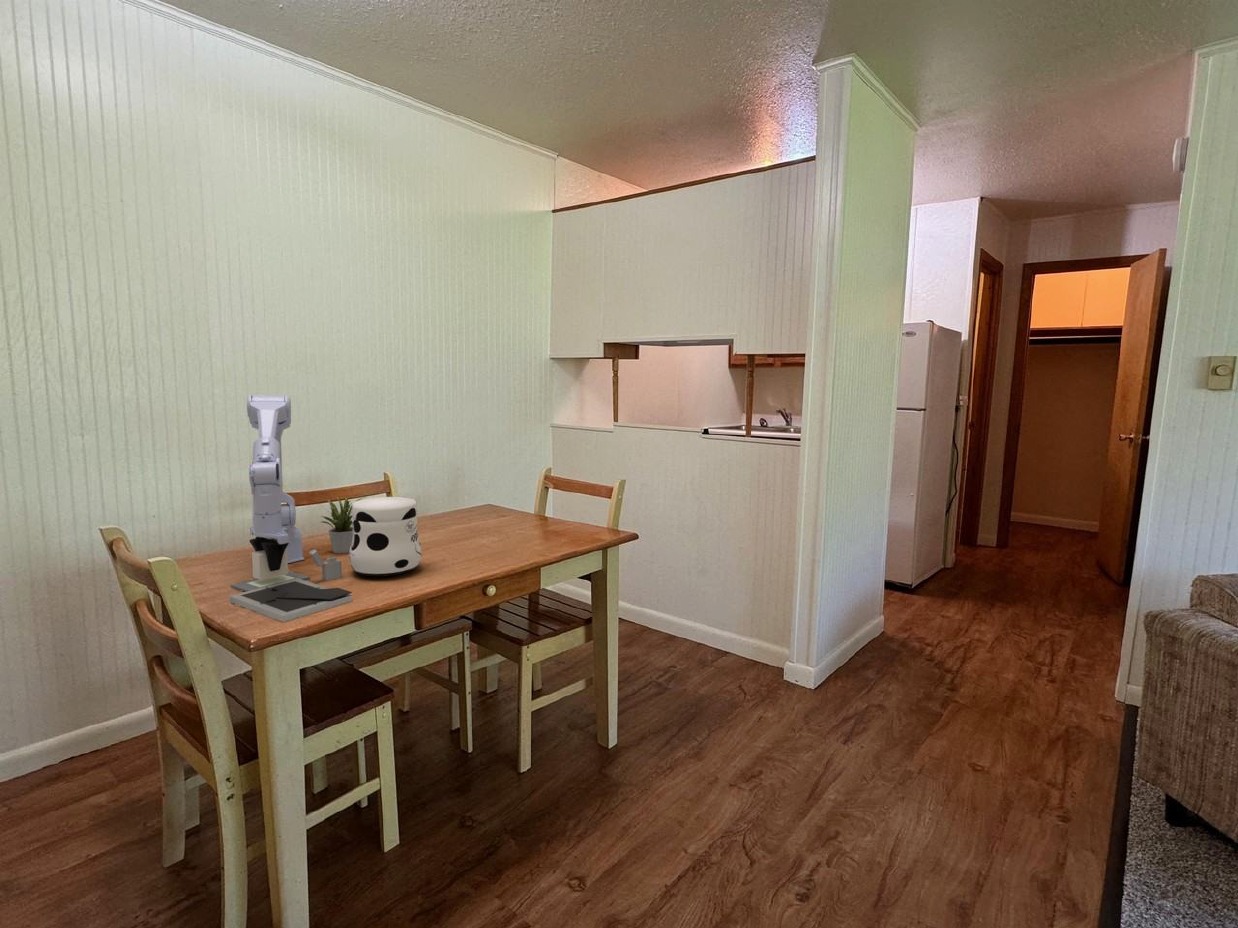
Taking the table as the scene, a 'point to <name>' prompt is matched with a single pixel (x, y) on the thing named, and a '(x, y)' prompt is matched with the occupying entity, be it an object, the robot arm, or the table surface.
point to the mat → (267, 581)
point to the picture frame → (291, 599)
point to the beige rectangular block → (262, 568)
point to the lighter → (327, 566)
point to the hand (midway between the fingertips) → (270, 568)
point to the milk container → (384, 536)
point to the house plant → (340, 526)
